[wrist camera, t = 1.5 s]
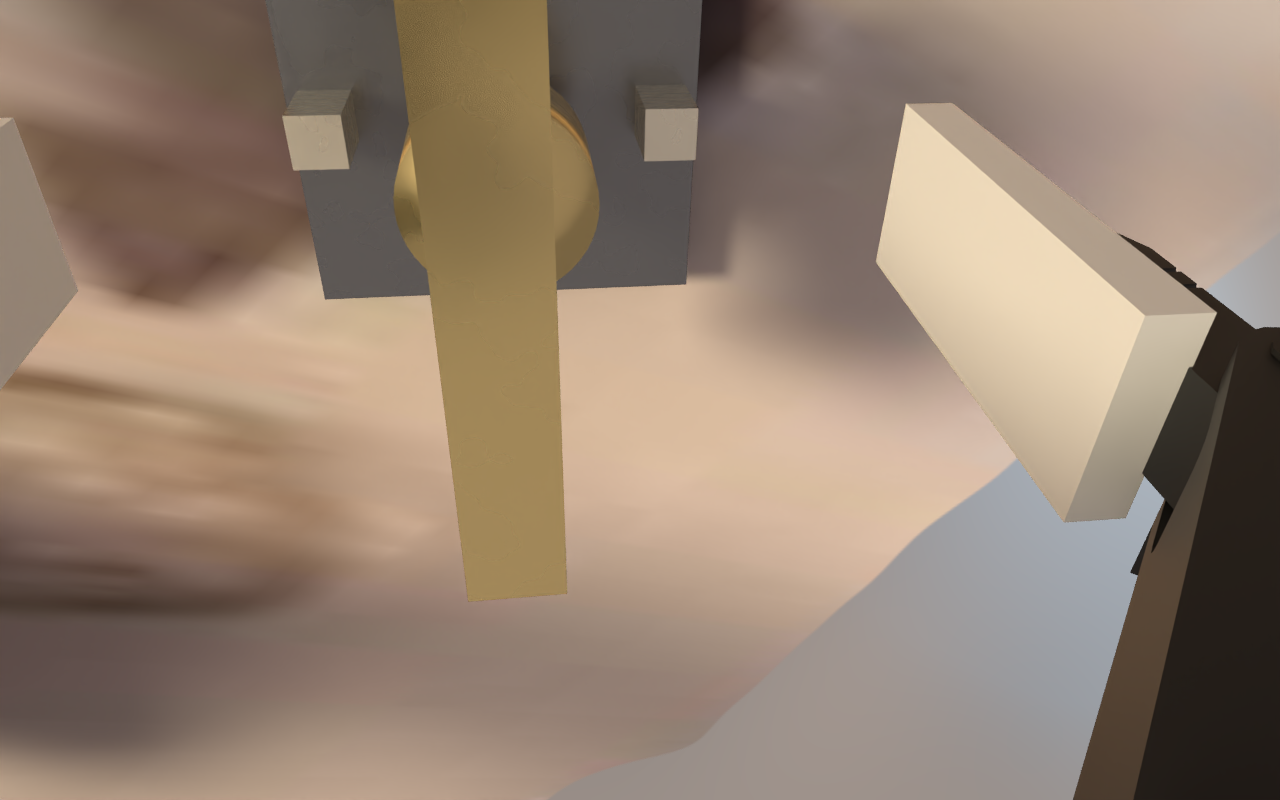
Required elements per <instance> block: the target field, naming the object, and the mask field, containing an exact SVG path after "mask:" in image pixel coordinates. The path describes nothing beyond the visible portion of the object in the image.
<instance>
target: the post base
mask: <svg viewBox="0 0 1280 800" xmlns="http://www.w3.org/2000/svg"><path fill="white" fill-rule="evenodd" d="M265 1H266V6H267V11H268V16H269V21H270V26H271V31H272V36H273V41H274V46H275V51H276V56H277V61H278V66H279V71H280V76H281V81H282V86H283V91H284V96H285V101H286V106H287V109H286V111H285V112H284V114H283V116H282V117H283V122H284V127H285V132H286V137H287V141H288V146H289V151H290V156H291V161H292V166H293V170H299V171H300V176H301V181H302V186H303V191H304V196H305V201H306V206H307V211H308V216H309V221H310V226H311V231H312V236H313V241H314V246H315V251H316V256H317V261H318V266H319V271H320V276H321V281H322V286H323V291H324V296H325V299H344V298H368V297H392V296H416V295H430V290H429V282H428V274H427V269H425V268H424V267H423V266H422V265H421V264H420V262H419V261H418V260H417V259H416V258H415V257H414V256H413V254H412V253H411V251H410V250H409V248H408V247H407V245H406V243H405V241H404V239H403V238H402V236H401V233H400V230H399V228H398V225H397V221H396V216H395V212H394V199H393V197H394V185H395V180H396V176H397V171H398V167H399V163H400V158H401V154H402V150H403V146H404V141H405V137H406V133H407V129H408V126H409V121H408V113H407V105H406V97H405V89H404V81H403V73H402V65H401V57H400V49H399V41H398V32H397V24H396V16H395V8H394V0H265ZM701 13H702V0H547V21H548V50H549V79H550V87H552V88H553V89H554V90H555V91H556V92H558V93H559V94H560V95H561V96H562V97H563V98H564V99H565V100H566V101H567V102H568V104H569V105H570V106H571V108H572V109H573V110H574V112H575V113H576V115H577V117H578V119H579V121H580V123H581V125H582V127H583V130H584V133H585V135H586V139H587V143H588V148H589V152H590V156H591V160H592V165H593V169H594V173H595V177H596V182H597V186H598V191H599V203H600V206H599V218H598V223H597V228H596V231H595V234H594V237H593V239H592V242H591V243H590V245H589V247H588V249H587V251H586V253H585V254H584V255H583V257H582V258H581V260H580V261H579V262H578V263H577V264H576V265H575V266H574V267H573V269H572V270H570V271H569V272H568V273H567V274H566V275H565V276H563V277H562V278H561V279H559V280H557V281H556V284H557V290H561V289H585V288H609V287H633V286H657V285H681V284H686V275H687V257H688V240H689V222H690V205H691V187H692V170H693V160H696V144H697V127H698V110H699V108H698V106H697V105H696V100H697V83H698V65H699V48H700V30H701Z"/></svg>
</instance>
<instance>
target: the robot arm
mask: <svg viewBox="0 0 1280 800" xmlns="http://www.w3.org/2000/svg"><path fill="white" fill-rule="evenodd" d="M876 263H877V264H878V266H879V267H880V269H881V270H882V271H883V273H884V274H885V275H886V277H887V278H888V280H889V281H890V282H891V284H892V285H893V287H894V288H895V289H896V291H897V292H898V293H899V295H900V296H901V298H902V299H903V300H904V302H905V303H906V305H907V306H908V307H909V309H910V310H911V311H912V313H913V314H914V316H915V317H916V318H917V320H918V321H919V323H920V324H921V325H922V327H923V328H924V329H925V331H926V332H927V334H928V335H929V336H930V338H931V339H932V341H933V342H934V343H935V345H936V346H937V347H938V349H939V350H940V352H941V353H942V354H943V356H944V357H945V359H946V360H947V361H948V363H949V364H950V365H951V367H952V368H953V370H954V371H955V372H956V374H957V375H958V377H959V378H960V379H961V381H962V382H963V383H964V385H965V386H966V388H967V389H968V390H969V392H970V393H971V395H972V396H973V397H974V399H975V400H976V401H977V403H978V404H979V406H980V407H981V408H982V410H983V411H984V413H985V414H986V415H987V417H988V418H989V419H990V421H991V422H992V424H993V425H994V426H995V428H996V429H997V431H998V432H999V433H1000V435H1001V436H1002V437H1003V439H1004V440H1005V442H1006V443H1007V444H1008V446H1009V447H1010V449H1011V450H1012V451H1013V453H1014V454H1015V455H1016V457H1017V458H1018V460H1019V461H1020V462H1021V464H1022V465H1023V467H1024V468H1025V469H1026V471H1027V472H1028V473H1029V475H1030V476H1031V478H1032V479H1033V480H1034V481H1035V483H1036V485H1037V486H1038V487H1039V489H1040V490H1041V491H1042V492H1043V494H1044V495H1045V497H1046V498H1047V500H1048V501H1049V502H1050V504H1051V505H1052V506H1053V508H1054V509H1055V511H1056V512H1057V514H1058V515H1059V516H1060V518H1061V519H1062V520H1063V522H1077V521H1092V520H1106V519H1120V518H1126V516H1127V514H1128V511H1129V509H1130V507H1131V505H1132V503H1133V500H1134V498H1135V496H1136V494H1137V491H1138V489H1139V487H1140V484H1141V482H1142V480H1143V478H1144V476H1145V477H1146V478H1147V480H1148V481H1149V482H1150V483H1151V484H1152V485H1153V486H1154V487H1155V489H1156V490H1157V491H1158V492H1159V493H1160V494H1161V495H1162V497H1163V498H1164V499H1165V500H1164V502H1163V504H1162V506H1161V508H1160V510H1159V512H1158V514H1157V517H1156V519H1155V521H1154V523H1153V525H1152V527H1151V529H1150V531H1149V534H1148V536H1147V538H1146V540H1145V542H1144V544H1143V546H1142V549H1141V551H1140V553H1139V555H1138V557H1137V559H1136V561H1135V564H1134V565H1133V568H1132V570H1131V573H1133V574H1135V575H1138V577H1137V581H1136V584H1135V587H1134V591H1133V594H1132V598H1131V602H1130V605H1129V608H1128V612H1127V615H1126V619H1125V622H1124V625H1123V629H1122V632H1121V636H1120V639H1119V643H1118V646H1117V650H1116V653H1115V656H1114V660H1113V664H1112V667H1111V671H1110V674H1109V677H1108V681H1107V684H1106V688H1105V692H1104V694H1103V698H1102V702H1101V705H1100V709H1099V712H1098V715H1097V719H1096V722H1095V726H1094V729H1093V732H1092V736H1091V740H1090V743H1089V746H1088V750H1087V753H1086V757H1085V760H1084V764H1083V767H1082V770H1081V774H1080V777H1079V781H1078V785H1077V788H1076V791H1075V795H1074V798H1073V800H1280V328H1279V327H1278V328H1277V327H1274V328H1273V327H1263V328H1259V329H1255V328H1253V327H1252V326H1251V325H1249V324H1248V323H1247V322H1245V321H1244V320H1243V319H1242V318H1240V317H1239V316H1238V315H1236V314H1235V313H1234V312H1233V311H1231V310H1230V309H1229V308H1227V307H1226V306H1225V305H1224V304H1222V303H1221V302H1220V301H1218V300H1217V299H1216V298H1214V297H1213V296H1212V295H1211V294H1209V293H1208V292H1207V291H1205V290H1204V289H1203V288H1196V283H1195V282H1194V281H1193V280H1191V279H1190V278H1189V277H1187V276H1186V275H1185V274H1183V273H1182V272H1176V267H1174V266H1173V265H1172V264H1171V263H1169V262H1168V261H1167V260H1165V259H1164V258H1163V257H1162V256H1160V255H1159V254H1158V253H1156V252H1155V251H1154V250H1153V249H1151V248H1149V247H1147V246H1145V245H1143V244H1140V243H1138V242H1136V241H1134V240H1132V239H1129V238H1127V237H1125V236H1123V235H1121V234H1118V233H1116V232H1115V231H1113V230H1112V229H1111V228H1110V227H1108V226H1107V225H1106V224H1105V223H1103V222H1102V221H1101V220H1099V219H1098V218H1097V217H1096V216H1094V215H1093V214H1092V213H1091V212H1089V211H1088V210H1087V209H1086V208H1084V207H1083V206H1082V205H1081V204H1079V203H1078V202H1077V201H1076V200H1074V199H1073V198H1072V197H1070V196H1069V195H1068V194H1067V193H1065V192H1064V191H1063V190H1062V189H1060V188H1059V187H1058V186H1057V185H1055V184H1054V183H1053V182H1052V181H1050V180H1049V179H1048V178H1047V177H1045V176H1044V175H1043V174H1041V173H1040V172H1039V171H1038V170H1036V169H1035V168H1034V167H1033V166H1031V165H1030V164H1029V163H1028V162H1026V161H1025V160H1024V159H1023V158H1021V157H1020V156H1019V155H1018V154H1016V153H1015V152H1014V151H1012V150H1011V149H1010V148H1009V147H1007V146H1006V145H1005V144H1004V143H1002V142H1001V141H1000V140H999V139H997V138H996V137H995V136H994V135H992V134H991V133H990V132H988V131H987V130H986V129H985V128H983V127H982V126H981V125H980V124H978V123H977V122H976V121H975V120H973V119H972V118H971V117H970V116H968V115H967V114H966V113H965V112H963V111H962V110H961V109H959V108H958V107H957V106H956V105H954V104H953V103H919V104H906V106H905V111H904V117H903V122H902V127H901V132H900V138H899V143H898V148H897V153H896V159H895V164H894V169H893V175H892V180H891V185H890V190H889V196H888V201H887V206H886V211H885V217H884V222H883V227H882V232H881V238H880V243H879V248H878V253H877V259H876ZM77 292H78V289H77V286H76V283H75V281H74V278H73V275H72V273H71V270H70V267H69V265H68V262H67V259H66V257H65V254H64V251H63V249H62V246H61V243H60V241H59V238H58V235H57V233H56V230H55V227H54V225H53V222H52V219H51V217H50V214H49V211H48V209H47V206H46V203H45V201H44V198H43V195H42V193H41V190H40V187H39V185H38V182H37V179H36V177H35V174H34V171H33V169H32V166H31V164H30V161H29V158H28V156H27V153H26V150H25V148H24V145H23V142H22V140H21V137H20V134H19V132H18V129H17V126H16V124H15V121H14V118H0V390H1V388H2V387H3V386H4V385H5V383H6V382H7V381H8V380H9V378H10V377H11V376H12V374H13V373H14V372H15V371H16V369H17V368H18V367H19V365H20V364H21V363H22V362H23V360H24V359H25V358H26V357H27V355H28V354H29V353H30V351H31V350H32V349H33V348H34V346H35V345H36V344H37V343H38V341H39V340H40V339H41V337H42V336H43V335H44V334H45V332H46V331H47V330H48V328H49V327H50V326H51V325H52V323H53V322H54V321H55V320H56V318H57V317H58V316H59V314H60V313H61V312H62V311H63V309H64V308H65V307H66V306H67V304H68V303H69V302H70V300H71V299H72V298H73V297H74V295H75V294H76V293H77Z"/></svg>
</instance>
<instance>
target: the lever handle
mask: <svg viewBox="0 0 1280 800" xmlns="http://www.w3.org/2000/svg"><path fill="white" fill-rule="evenodd" d="M394 8H395V16H396V24H397V32H398V41H399V49H400V57H401V65H402V73H403V81H404V89H405V97H406V105H407V113H408V121H409V126H408V129H407V133H406V137H405V141H404V146H403V150H402V154H401V158H400V163H399V167H398V171H397V176H396V180H395V185H394V197H393V199H394V212H395V216H396V221H397V225H398V228H399V230H400V233H401V236H402V238H403V239H404V241H405V243H406V245H407V247H408V248H409V250H410V251H411V253H412V254H413V256H414V257H415V258H416V259H417V260H418V261H419V262H420V264H421V265H422V266H423V267H424V268H425V269H427V274H428V282H429V290H430V298H431V306H432V314H433V322H434V330H435V338H436V346H437V354H438V362H439V370H440V378H441V386H442V394H443V402H444V410H445V418H446V426H447V435H448V443H449V451H450V459H451V467H452V475H453V483H454V491H455V499H456V507H457V515H458V523H459V531H460V539H461V547H462V555H463V563H464V571H465V579H466V587H467V595H468V602H470V601H483V600H495V599H507V598H520V597H532V596H545V595H557V594H567V577H566V548H565V519H564V489H563V460H562V431H561V402H560V372H559V343H558V314H557V284H556V281H557V280H559V279H561V278H562V277H563V276H565V275H566V274H567V273H568V272H569V271H570V270H572V269H573V267H574V266H575V265H576V264H577V263H578V262H579V261H580V260H581V258H582V257H583V255H584V254H585V253H586V251H587V249H588V247H589V245H590V243H591V242H592V239H593V237H594V234H595V231H596V228H597V223H598V218H599V206H600V203H599V191H598V186H597V182H596V177H595V173H594V169H593V165H592V160H591V156H590V152H589V148H588V143H587V139H586V135H585V133H584V130H583V127H582V125H581V123H580V121H579V119H578V117H577V115H576V113H575V112H574V110H573V109H572V108H571V106H570V105H569V104H568V102H567V101H566V100H565V99H564V98H563V97H562V96H561V95H560V94H559V93H558V92H556V91H555V90H554V89H553V88H552V87H550V79H549V50H548V21H547V0H394Z"/></svg>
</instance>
